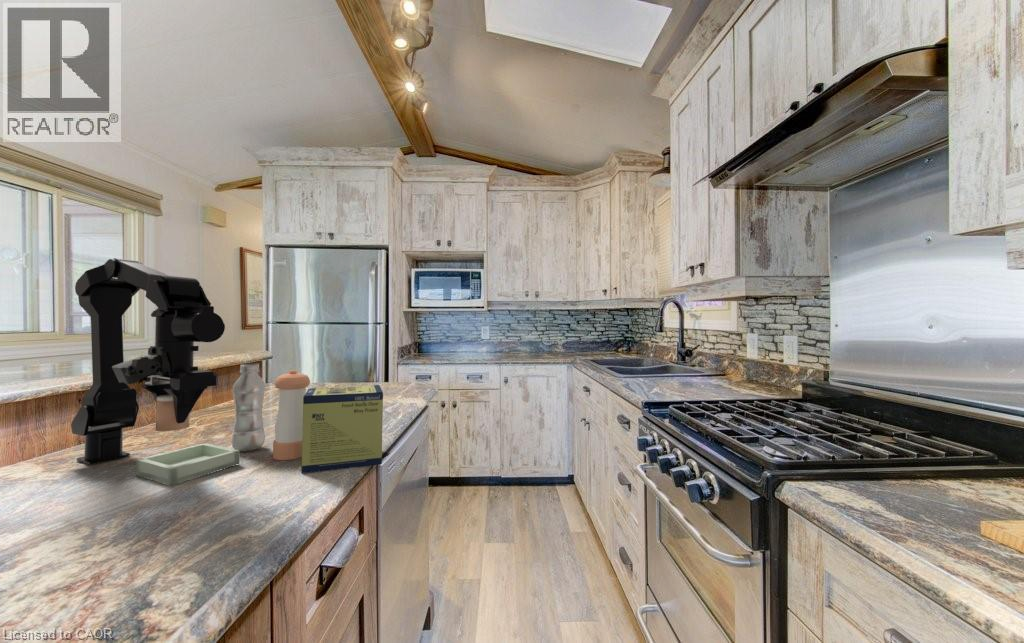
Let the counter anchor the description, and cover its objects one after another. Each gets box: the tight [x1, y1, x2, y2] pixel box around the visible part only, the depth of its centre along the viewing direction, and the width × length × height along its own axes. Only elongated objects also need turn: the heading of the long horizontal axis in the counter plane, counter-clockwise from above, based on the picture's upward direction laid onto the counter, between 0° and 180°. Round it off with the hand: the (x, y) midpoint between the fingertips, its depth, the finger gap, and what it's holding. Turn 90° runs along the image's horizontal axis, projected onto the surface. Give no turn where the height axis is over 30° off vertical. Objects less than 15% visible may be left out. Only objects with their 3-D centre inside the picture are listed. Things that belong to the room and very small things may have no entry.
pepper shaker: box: [272, 369, 311, 461], centre depth 89 cm, size 7×7×19 cm
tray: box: [135, 442, 240, 487], centre depth 80 cm, size 12×12×3 cm
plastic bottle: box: [231, 363, 266, 452], centre depth 92 cm, size 6×7×20 cm
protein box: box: [300, 384, 384, 474], centre depth 86 cm, size 10×16×16 cm
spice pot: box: [155, 394, 191, 432], centre depth 77 cm, size 5×5×6 cm
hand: (173, 421), depth 77 cm, fingers closed on spice pot, 5 cm apart
